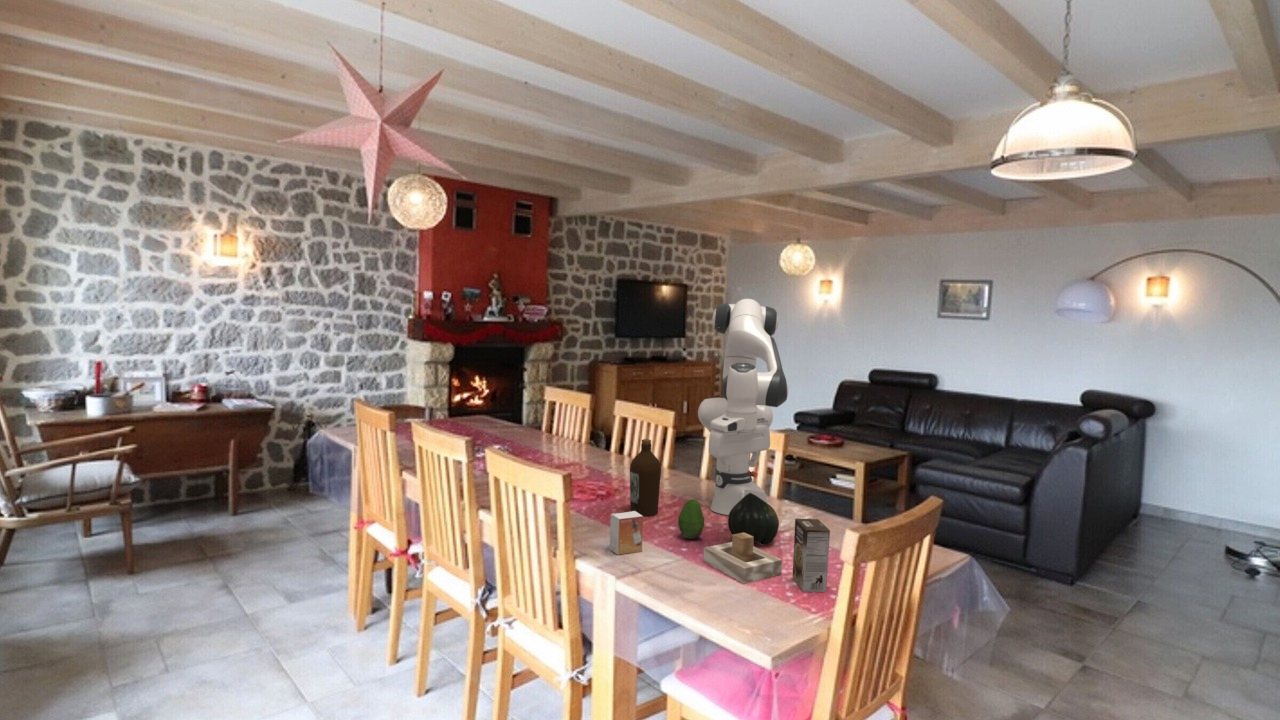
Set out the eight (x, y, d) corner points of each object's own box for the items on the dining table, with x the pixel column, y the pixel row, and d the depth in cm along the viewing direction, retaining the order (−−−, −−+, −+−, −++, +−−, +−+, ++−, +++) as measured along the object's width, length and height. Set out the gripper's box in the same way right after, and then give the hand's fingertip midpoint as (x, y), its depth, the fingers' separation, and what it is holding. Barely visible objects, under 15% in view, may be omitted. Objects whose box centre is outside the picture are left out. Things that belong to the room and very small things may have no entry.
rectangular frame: (739, 553, 198) (740, 540, 198) (781, 574, 184) (782, 559, 183) (703, 561, 191) (703, 547, 191) (743, 583, 177) (744, 568, 176)
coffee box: (791, 577, 182) (794, 517, 180) (815, 577, 182) (818, 518, 181) (802, 592, 172) (805, 529, 171) (827, 592, 173) (830, 529, 172)
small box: (617, 555, 194) (618, 519, 193) (609, 549, 199) (610, 513, 198) (642, 551, 197) (643, 515, 196) (633, 545, 202) (635, 510, 201)
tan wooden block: (738, 562, 191) (740, 530, 191) (755, 571, 185) (757, 538, 185) (727, 565, 189) (729, 532, 188) (744, 573, 183) (746, 540, 183)
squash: (772, 537, 197) (778, 490, 205) (720, 531, 202) (728, 486, 211) (777, 557, 207) (783, 511, 216) (728, 551, 212) (736, 507, 221)
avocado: (705, 535, 213) (707, 497, 212) (701, 543, 205) (702, 504, 204) (680, 532, 215) (681, 494, 214) (674, 540, 208) (676, 501, 207)
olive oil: (652, 506, 241) (654, 436, 239) (664, 515, 231) (667, 442, 229) (623, 509, 237) (625, 437, 235) (635, 518, 227) (637, 443, 225)
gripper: (761, 415, 203) (759, 461, 204) (705, 422, 192) (704, 470, 194) (776, 419, 197) (774, 466, 199) (720, 426, 187) (718, 476, 188)
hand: (739, 468), depth 196 cm, fingers open, 8 cm apart
